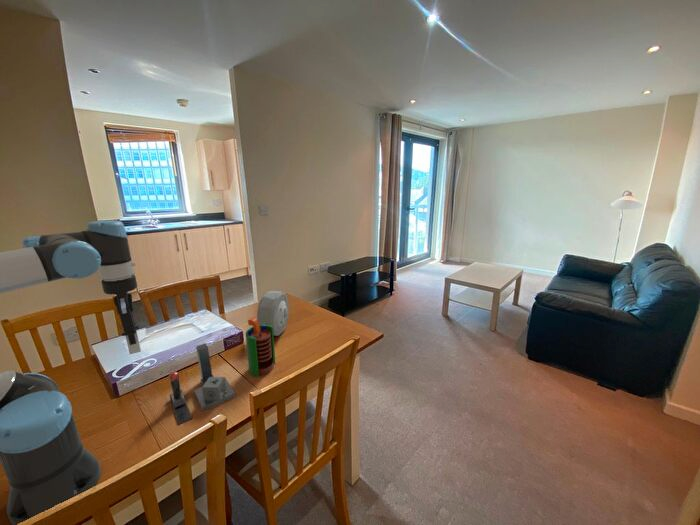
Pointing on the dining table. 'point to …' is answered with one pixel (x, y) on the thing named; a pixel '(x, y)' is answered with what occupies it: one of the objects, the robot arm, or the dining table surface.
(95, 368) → the dining table surface
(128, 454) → the dining table surface
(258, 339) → the motor
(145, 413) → the dining table surface
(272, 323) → the dial
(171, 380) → the lever
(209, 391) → the dice cube
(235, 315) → the dining table surface
